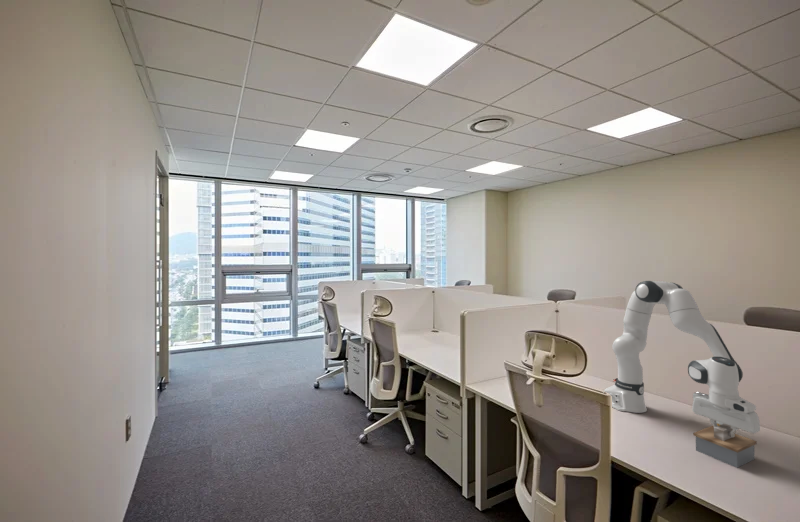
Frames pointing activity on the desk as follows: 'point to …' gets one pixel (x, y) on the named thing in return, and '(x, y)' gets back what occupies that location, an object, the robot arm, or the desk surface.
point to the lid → (725, 438)
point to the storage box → (725, 453)
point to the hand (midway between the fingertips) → (724, 433)
